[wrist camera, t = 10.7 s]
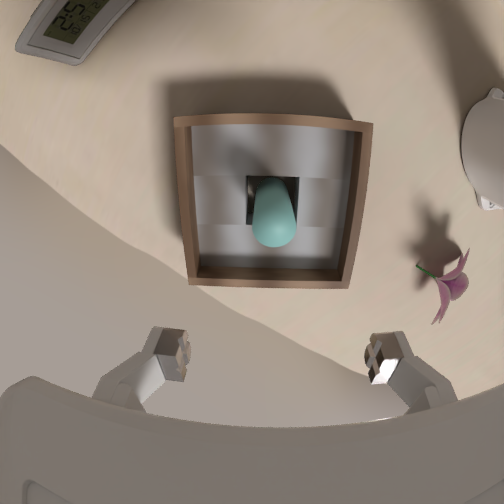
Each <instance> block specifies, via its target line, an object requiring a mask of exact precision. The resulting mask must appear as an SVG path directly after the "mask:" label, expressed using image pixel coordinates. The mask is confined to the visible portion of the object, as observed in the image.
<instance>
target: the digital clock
mask: <svg viewBox="0 0 504 504" xmlns="http://www.w3.org/2000/svg"><path fill="white" fill-rule="evenodd" d="M135 1H136V0H42V1H41V3H40V4H39V5H38V7H37V8H36V10H35V11H34V12H33V14H32V15H31V19H30V20H29V22H28V23H27V25H26V27H25V28H24V30H23V31H22V33H21V35H20V36H19V38H18V40H17V42H16V45H15V50H16V51H17V52H19V53H23V54H27V55H32V56H37V57H41V58H45V59H50V60H54V61H58V62H61V63H65V64H69V65H74V66H75V65H79V64H80V63H82V62H83V61H84V59H85V58H86V57H87V56H88V54H89V53H90V52H91V50H92V49H93V48H94V47H95V45H96V44H97V43H98V42H99V40H100V39H101V38H102V37H103V36H104V34H105V33H106V32H107V31H108V30H109V28H110V27H111V26H112V25H113V24H114V23H115V22H116V20H117V19H118V18H119V17H120V16H121V15H122V14H123V13H124V12H125V11H126V10H127V9H128V8H129V7H130V6H131V5H132V4H133V3H134V2H135Z"/></svg>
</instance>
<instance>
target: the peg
mask: <svg viewBox="0 0 504 504" xmlns="http://www.w3.org/2000/svg"><path fill="white" fill-rule="evenodd" d="M252 231H253V234H254V236H255V238H256V239H257V240H258V241H259V242H260V243H261V244H263V245H265V246H268V247H280V246H283V245H285V244H287V243H288V242H290V241H291V240H292V238H293V237H294V235H295V233H296V221H295V217H294V213H293V209H292V205H291V201H290V198H289V194H288V190H287V187H286V185H285V183H284V182H283V181H281V180H280V179H278V178H273V177H270V178H266V179H264V180H262V181H261V182H260V183H259V185H258V186H257V189H256V197H255V206H254V214H253V223H252Z"/></svg>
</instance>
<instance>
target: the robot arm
mask: <svg viewBox="0 0 504 504" xmlns="http://www.w3.org/2000/svg"><path fill="white" fill-rule="evenodd" d="M461 149H462V159H463V164H464V168H465V172H466V174H467V177H468V179H469V181H470V183H471V184H472V186H473V187H474V189H475V191H476V194H477V200H478V204H479V207H480V208H481V209H483V210H494V209H501V208H502V209H504V92H503V91H502V90H500V89H499V88H492V89H491V90H490V92H489V94H488V96H487V97H486V98H485V99H484V100H482V101H479V102H478V103H476V104H475V105H474V106H473V107H472V108H471V110H470V111H469V113H468V115H467V117H466V120H465V123H464V127H463V132H462V143H461ZM187 339H188V333H187V331H186V330H180V329H172V328H164V327H156V326H154V327H153V328H152V330H151V332H150V334H149V336H148V339H147V341H146V343H145V345H144V348H143V350H142V352H138V353H136V354H135V355H133V356H132V357H130V358H129V359H127V360H126V361H125V362H123V363H122V364H120V365H119V366H117V367H116V368H114V369H113V370H111V371H110V372H108V373H107V374H105V375H104V376H102V377H101V379H100V381H99V383H98V385H97V387H96V390H95V391H94V394H93V396H92V398H90V397H87V396H84V395H81V394H78V393H76V392H73V391H70V390H67V389H65V388H62V387H60V386H57V385H55V384H52V383H50V382H47V381H45V380H43V379H41V378H38V377H36V376H30V377H27V378H25V379H23V380H21V381H19V382H17V383H16V384H14V385H12V386H10V387H9V388H8V389H6V391H5V392H4V393H3V394H2V395H1V397H0V504H504V384H501V385H499V386H496V387H494V388H491V389H489V390H486V391H484V392H481V393H479V394H476V395H473V396H470V397H468V398H465V399H462V400H459V401H458V399H457V397H456V394H455V392H454V389H453V387H452V385H451V382H450V381H449V380H448V379H447V378H445V377H444V376H443V375H441V374H440V373H439V372H437V371H436V370H435V369H433V368H432V367H431V366H430V365H428V364H427V363H426V362H424V361H423V360H422V359H420V358H419V357H418V356H414V354H413V352H412V350H411V347H410V345H409V343H408V341H407V339H406V336H405V334H404V332H402V331H396V332H384V333H373V334H372V335H371V337H370V342H371V343H370V344H369V345H367V347H366V350H365V355H364V358H365V364H366V366H367V367H368V368H370V370H369V372H368V375H369V378H370V382H371V384H380V383H387V384H388V385H389V386H390V387H391V388H392V389H393V390H394V391H395V392H396V393H397V395H398V396H399V397H400V398H401V399H402V400H403V401H404V402H405V403H406V404H407V405H408V406H409V407H410V408H409V409H408V411H407V412H406V413H405V414H404V415H402V416H397V417H392V418H386V419H380V420H374V421H367V422H360V423H352V424H343V425H333V426H332V425H331V426H318V427H291V428H290V427H289V428H273V427H244V426H230V425H219V424H210V423H201V422H194V421H186V420H180V419H175V418H169V417H164V416H158V415H153V414H149V413H146V411H145V409H144V408H143V406H142V403H143V402H144V401H145V400H146V399H147V398H148V397H149V396H150V395H152V394H153V392H155V391H156V390H157V389H158V388H159V387H160V386H161V385H162V384H163V383H164V382H165V381H166V380H172V381H180V382H184V379H185V375H186V372H187V369H186V365H187V364H188V363H189V361H190V356H191V346H190V343H189V342H188V341H187Z"/></svg>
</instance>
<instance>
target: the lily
mask: <svg viewBox="0 0 504 504" xmlns="http://www.w3.org/2000/svg"><path fill="white" fill-rule="evenodd" d="M469 249H470V247H469ZM469 249H468V251H467V253H466V255H465V257H464V258H463V253H461V255H460V259H459V262H458V265H457V267H456V268H455V269H454V270H453V271H451V272H449V273H448V274H446V275H444V276H442V277H440V278H437V277H435V276H434V275H432V274H430V273H429V272H427V271H426V270H424V269H422V268H421V267H419V266H418V265H416V267H417V268H419V269H420V270H422V271H424V272H425V273H427V274H428V275H430V276H431V277H433V278H434V279H436V280H437V283H438V287H439V292H440V298H441V307H440V309H439V311H438V313H437V315H436V317H435V318H434V320H433V322H432V324H434V323H435V322H436V321H437V320H438V319H439V318H440V320H439V323H440V321H441V320H442V318H443V316H444V314H445V312H446V310H447V308H448V305H449V302H450V300H451V301H454V300H456V299H458V298H459V297H460V296H461V295H462V294H463V293H464V292H465V290H466V289H467V287H468V284H469V280H468V277H467V276H466V274H465V273H463V272H462V270H463V268H464V266H465V263H466V260H467V257H468V254H469ZM432 324H431V325H432Z"/></svg>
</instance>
